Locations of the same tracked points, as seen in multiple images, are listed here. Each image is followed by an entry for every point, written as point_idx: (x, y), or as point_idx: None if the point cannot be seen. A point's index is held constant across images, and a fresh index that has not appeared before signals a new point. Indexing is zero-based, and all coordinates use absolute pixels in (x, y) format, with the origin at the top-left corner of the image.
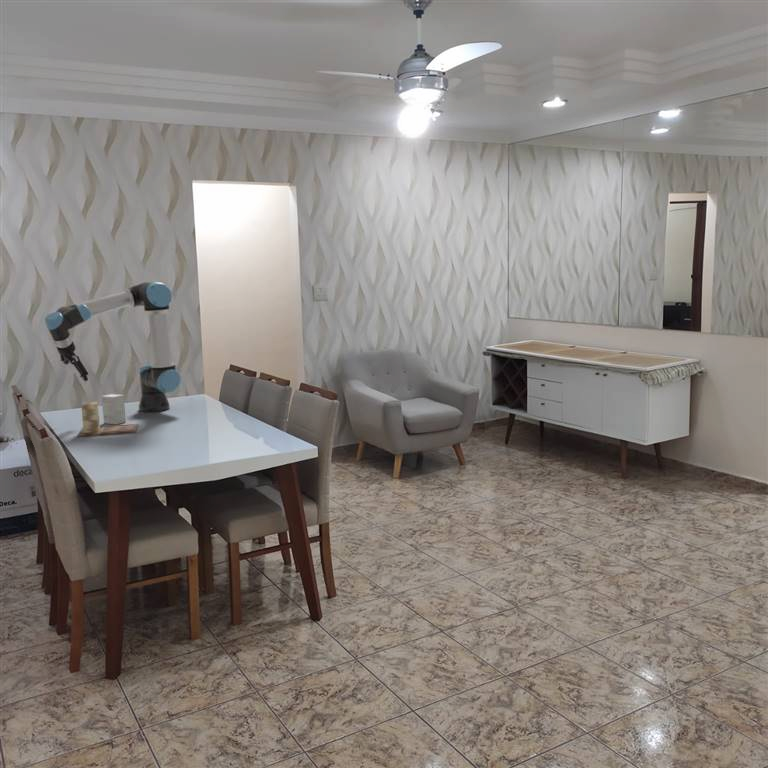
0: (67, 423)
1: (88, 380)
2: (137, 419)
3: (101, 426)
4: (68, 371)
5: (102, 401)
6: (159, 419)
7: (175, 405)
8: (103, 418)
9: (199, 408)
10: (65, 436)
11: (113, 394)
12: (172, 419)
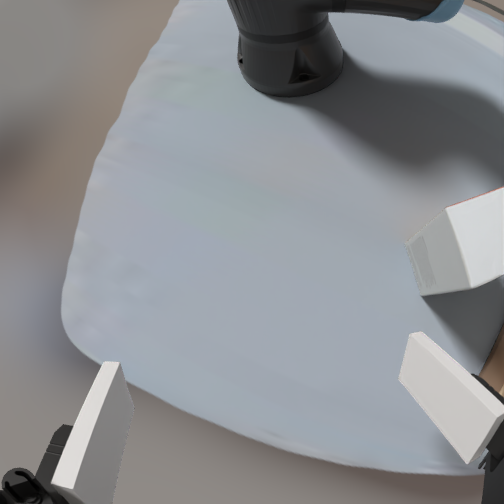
0: (296, 400)
1: (446, 360)
2: (439, 170)
3: (502, 344)
4: (123, 450)
5: (462, 290)
6: (479, 129)
7: None
8: (427, 295)
9: None
10: None
11: (465, 208)
12: (496, 110)
